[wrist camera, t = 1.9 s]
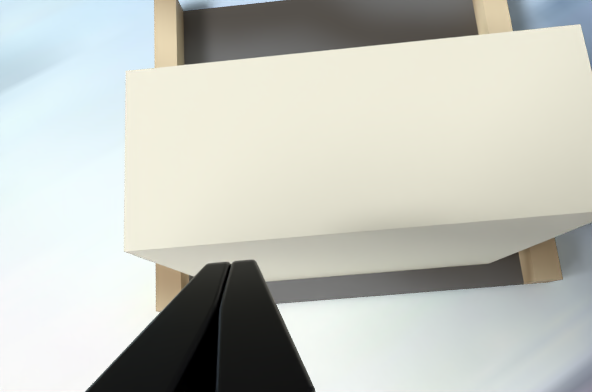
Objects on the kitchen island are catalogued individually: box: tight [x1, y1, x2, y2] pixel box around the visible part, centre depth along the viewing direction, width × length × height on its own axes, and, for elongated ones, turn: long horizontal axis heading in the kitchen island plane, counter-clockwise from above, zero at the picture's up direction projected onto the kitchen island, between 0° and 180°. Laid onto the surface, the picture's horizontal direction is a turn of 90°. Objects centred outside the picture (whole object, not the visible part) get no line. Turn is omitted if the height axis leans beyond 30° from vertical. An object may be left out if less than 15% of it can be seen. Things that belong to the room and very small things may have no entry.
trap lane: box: [154, 0, 563, 312], centre depth 22 cm, size 14×16×1 cm
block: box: [124, 25, 592, 282], centre depth 17 cm, size 4×11×10 cm, turn 94°
